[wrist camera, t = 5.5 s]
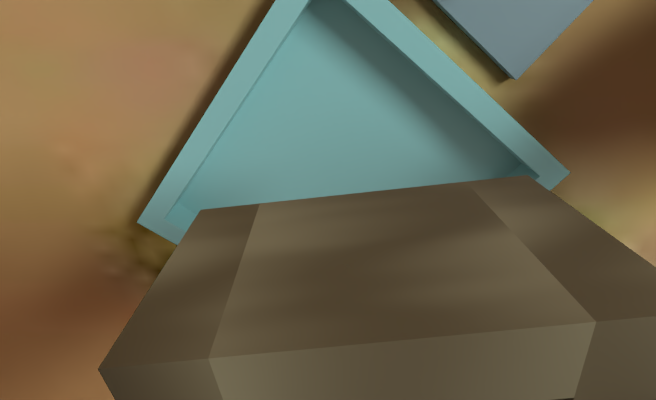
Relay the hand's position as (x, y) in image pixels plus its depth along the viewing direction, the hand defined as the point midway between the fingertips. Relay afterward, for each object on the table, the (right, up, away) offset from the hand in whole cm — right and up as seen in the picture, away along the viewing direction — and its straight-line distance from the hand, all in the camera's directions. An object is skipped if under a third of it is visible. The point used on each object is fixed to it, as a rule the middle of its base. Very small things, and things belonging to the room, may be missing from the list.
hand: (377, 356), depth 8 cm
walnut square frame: (0, +1, +1) cm, 1 cm away
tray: (0, +5, +12) cm, 12 cm away
